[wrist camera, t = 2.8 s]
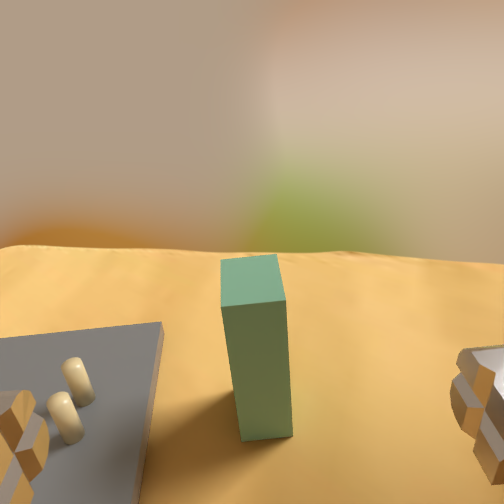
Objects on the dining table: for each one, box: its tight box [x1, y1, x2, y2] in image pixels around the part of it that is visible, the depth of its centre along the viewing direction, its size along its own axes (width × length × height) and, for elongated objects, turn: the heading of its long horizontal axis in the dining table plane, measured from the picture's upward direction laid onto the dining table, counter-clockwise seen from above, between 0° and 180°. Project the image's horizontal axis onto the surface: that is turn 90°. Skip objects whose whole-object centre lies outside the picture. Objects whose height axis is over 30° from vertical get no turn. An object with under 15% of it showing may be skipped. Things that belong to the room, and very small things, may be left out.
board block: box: [221, 254, 293, 442], centre depth 25 cm, size 3×4×10 cm
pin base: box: [0, 322, 164, 504], centre depth 26 cm, size 14×16×4 cm
